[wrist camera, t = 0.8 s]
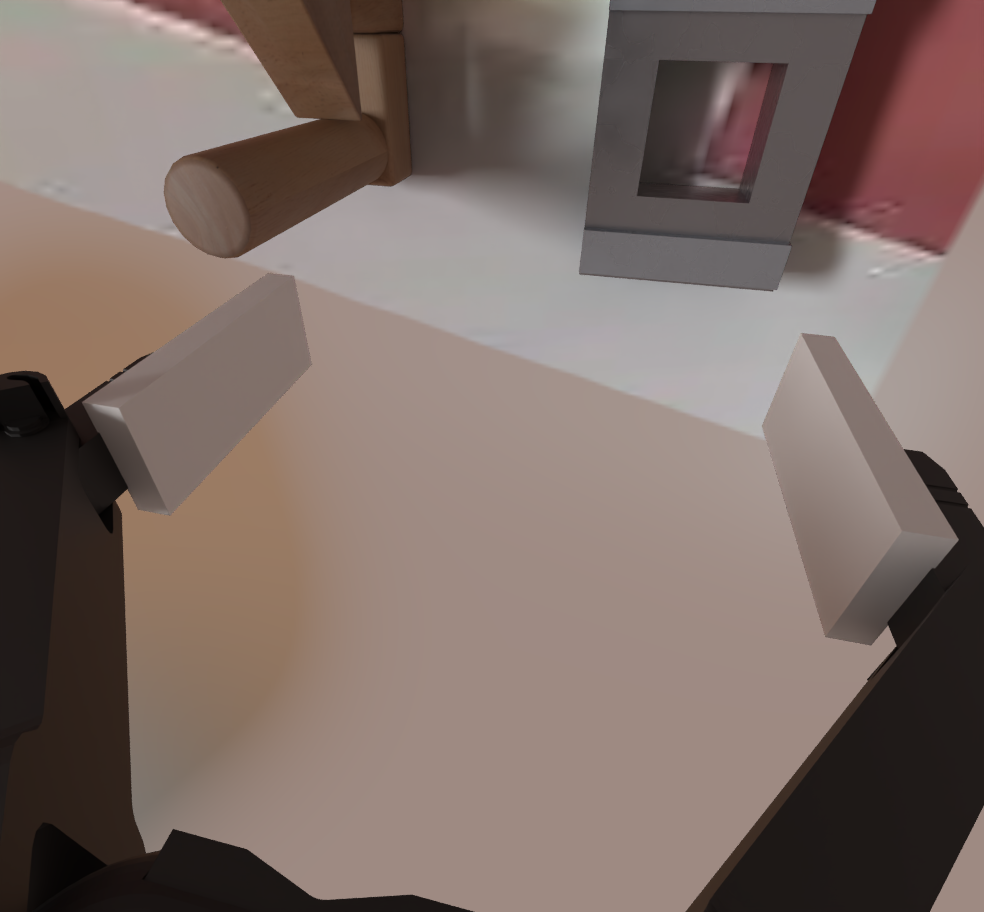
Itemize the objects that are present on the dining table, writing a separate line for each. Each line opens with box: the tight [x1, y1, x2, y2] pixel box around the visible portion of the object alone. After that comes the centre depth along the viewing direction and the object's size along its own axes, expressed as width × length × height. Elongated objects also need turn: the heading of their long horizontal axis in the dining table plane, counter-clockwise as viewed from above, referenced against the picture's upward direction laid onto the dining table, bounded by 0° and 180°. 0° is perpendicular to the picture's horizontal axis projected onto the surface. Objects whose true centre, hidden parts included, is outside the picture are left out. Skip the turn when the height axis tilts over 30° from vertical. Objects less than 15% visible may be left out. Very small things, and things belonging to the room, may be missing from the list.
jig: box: [579, 0, 876, 291], centre depth 29 cm, size 15×11×4 cm
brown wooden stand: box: [164, 0, 412, 258], centre depth 25 cm, size 4×11×18 cm, turn 179°
